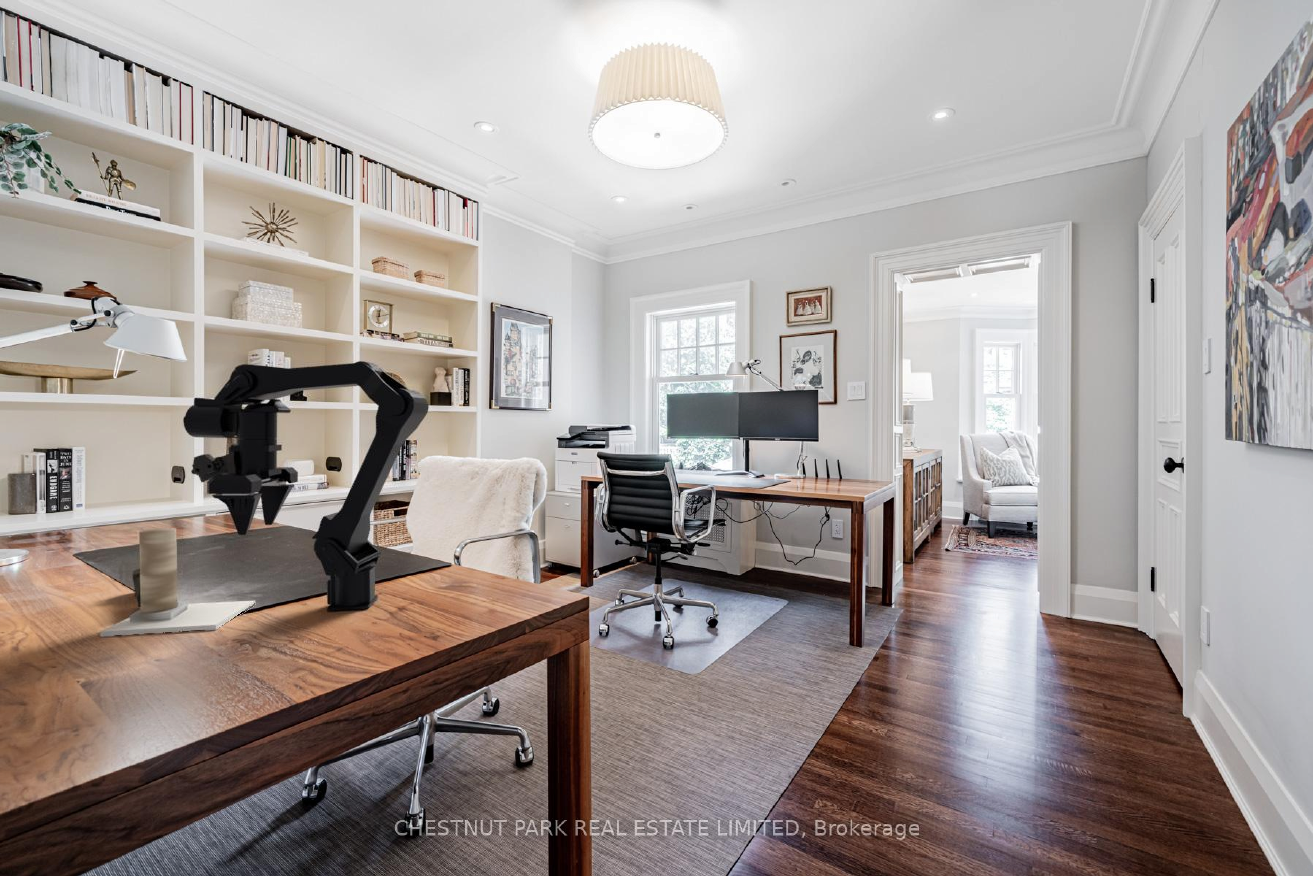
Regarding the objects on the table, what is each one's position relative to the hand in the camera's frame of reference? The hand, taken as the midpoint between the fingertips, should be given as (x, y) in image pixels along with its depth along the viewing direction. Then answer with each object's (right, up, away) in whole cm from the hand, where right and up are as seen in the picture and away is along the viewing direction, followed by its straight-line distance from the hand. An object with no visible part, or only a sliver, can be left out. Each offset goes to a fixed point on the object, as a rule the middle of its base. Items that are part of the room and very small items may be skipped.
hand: (256, 529), depth 98 cm
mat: (-7, -13, -7) cm, 16 cm away
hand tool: (-21, -13, +1) cm, 24 cm away
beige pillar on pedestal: (-10, -13, -8) cm, 18 cm away
